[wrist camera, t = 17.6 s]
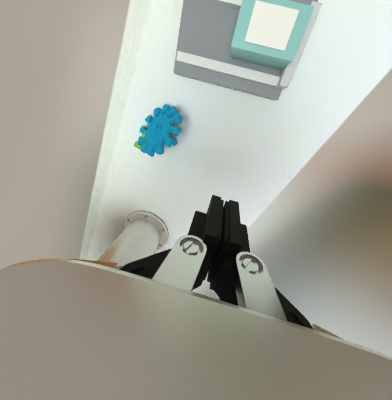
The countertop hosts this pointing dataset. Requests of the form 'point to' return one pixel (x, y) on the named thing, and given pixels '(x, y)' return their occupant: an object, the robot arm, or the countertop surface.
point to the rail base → (227, 49)
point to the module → (269, 32)
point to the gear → (159, 131)
